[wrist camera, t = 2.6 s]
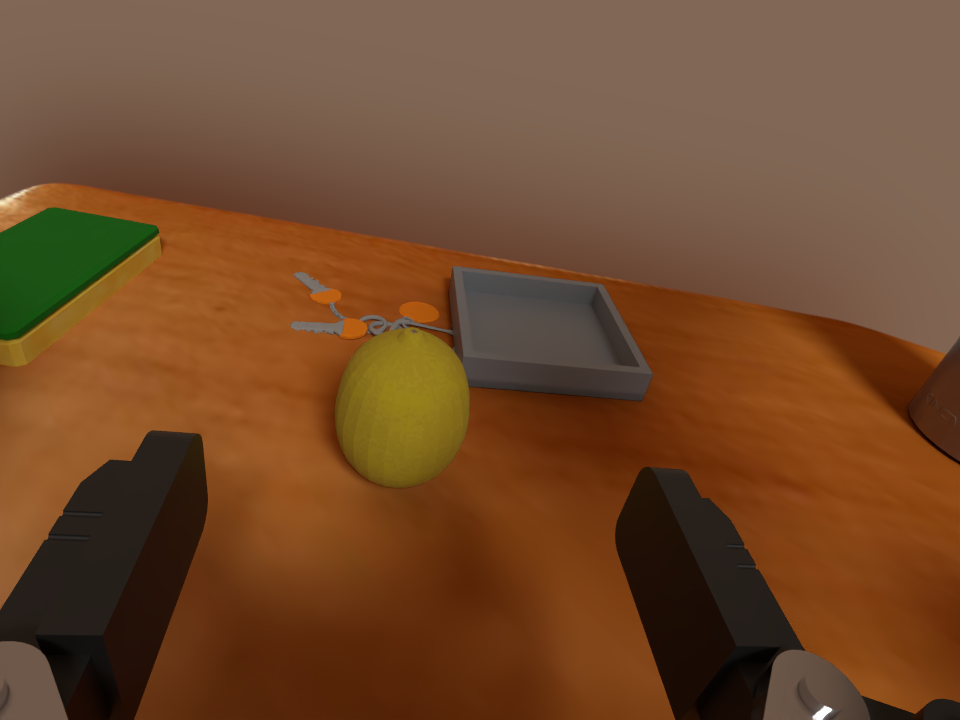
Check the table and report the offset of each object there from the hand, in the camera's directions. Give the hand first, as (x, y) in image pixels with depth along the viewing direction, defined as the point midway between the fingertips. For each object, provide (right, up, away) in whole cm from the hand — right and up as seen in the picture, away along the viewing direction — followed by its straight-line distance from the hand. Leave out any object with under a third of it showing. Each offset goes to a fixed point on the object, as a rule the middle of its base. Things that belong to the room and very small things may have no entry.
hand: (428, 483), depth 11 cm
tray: (+5, +4, +28) cm, 29 cm away
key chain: (-6, +5, +27) cm, 28 cm away
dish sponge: (-24, +6, +23) cm, 34 cm away
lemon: (-3, -3, +16) cm, 17 cm away
